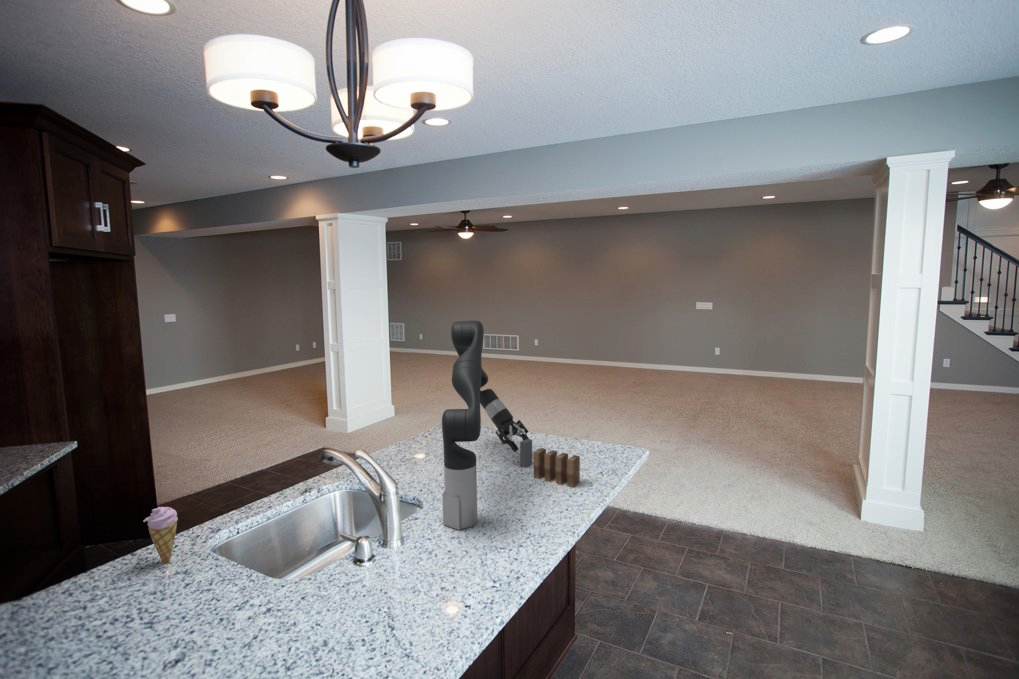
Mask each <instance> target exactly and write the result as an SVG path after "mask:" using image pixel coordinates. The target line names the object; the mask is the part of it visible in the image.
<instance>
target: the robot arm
mask: <svg viewBox="0 0 1019 679" xmlns="http://www.w3.org/2000/svg"><path fill="white" fill-rule="evenodd" d="M484 333H485V331H484V326H483V323H482V322H481V321H479V320H472V319H471V320H460V321H454V322H453V323H452V325H451V331H450V336H451V342H452V344H453V348H454V349H455V351H456V353H457V355H458V358H457V359H456V360H455V362H454V363H453V366H452V372H451V384H452V386H453V389H454V391H456V393H457V394H458V395H459V396H460V397H461V399H462V400H463V401H464V402H465V405H466V406H467V408H448V409H445V410H444V411H443V413H442V417H441V431H442V444H443V470H444V472H443V474H444V479H443V480H444V492H442V494H441V495H442V524H443V525H444V526H446V527H450V528H452V529H455V530H458V531H460V530H462V529H467V528H471V527H473V526H475V525H476V524H477V523H478V488H477V487H478V484H477V481H478V480H477V478H478V477H477V471H478V470H477V455H476V453H475V452H474V451H472V450H470V449H466V448H465V447H462V446H461V445H459V444H457V443H459V442H461V443H462V442H463V443H467V442H469V443H470V442H475V441H478V440H479V438H480V436H481V430H482V418H481V406H482V407H483V409H484V411H485V412H486V415H487V416H488V417H489V419H490V421H491V422H492V423H493V424H494V426H495V427H496V430H495V434H496V436H497V438H498V439H499V440H500V442H501V444H503V445H508V446H509V447H510V449H511V450H512V451H513V452H514V453H516V452H518V451H519V450H520V447H518V445H517V444H516V442H515V441H514V440H513V437H514V436H516V437H520V438H521V440H522V441H524V440H526V439H530V438H529V436H528V435H527V434H528V433H529V430H528V429H527V427H526V426H525V425H524V424H523V422H522V421H521V420H520V419H518V420H517V421H514V416H513V415H512V413H511V411H509V409H508V408H507V406H506V405H505V404H504V402H503V401H502V400H501V399H500V397H498V395H497V394H496V393H495V391H494V390H493V389H492V388H487V389H483V390H481V388H483V387H485V386H486V385H487V384H488V382H489V376H488V374H487V373H486V372H485V370H484V369H483V366H482V353H483V348H484V347H483V346H484V337H485V334H484Z"/></svg>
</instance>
